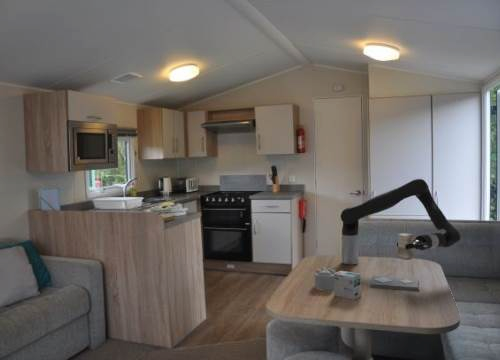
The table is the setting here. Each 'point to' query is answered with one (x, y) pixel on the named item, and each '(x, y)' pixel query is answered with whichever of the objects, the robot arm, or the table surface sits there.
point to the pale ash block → (402, 241)
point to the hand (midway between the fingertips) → (401, 245)
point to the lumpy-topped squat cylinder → (324, 279)
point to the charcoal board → (394, 282)
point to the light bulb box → (347, 285)
